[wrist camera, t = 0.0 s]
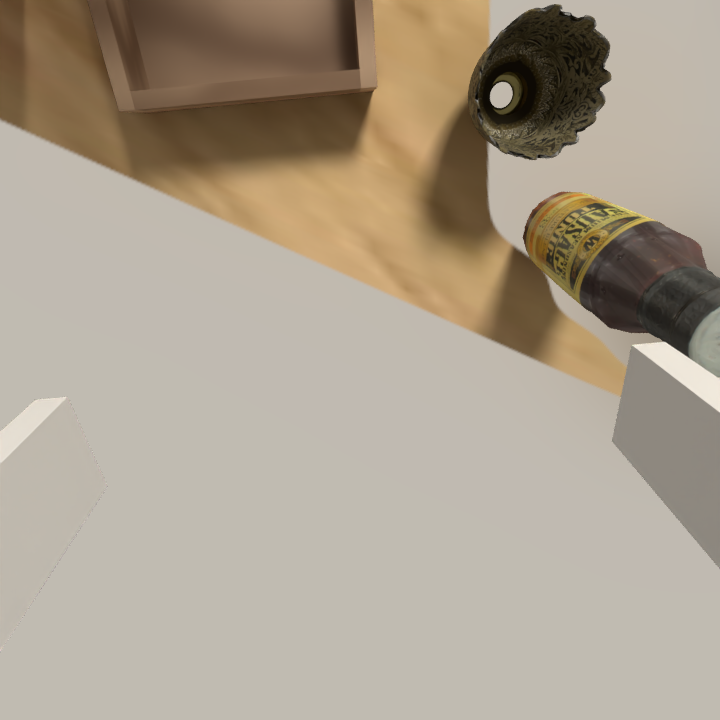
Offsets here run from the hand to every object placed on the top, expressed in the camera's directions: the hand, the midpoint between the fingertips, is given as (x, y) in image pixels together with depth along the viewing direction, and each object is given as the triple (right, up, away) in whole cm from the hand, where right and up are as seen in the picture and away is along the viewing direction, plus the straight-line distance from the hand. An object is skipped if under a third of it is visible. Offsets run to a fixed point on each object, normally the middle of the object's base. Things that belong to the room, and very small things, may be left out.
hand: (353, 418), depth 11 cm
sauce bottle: (+16, +12, +26) cm, 33 cm away
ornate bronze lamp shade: (+10, +20, +22) cm, 31 cm away
